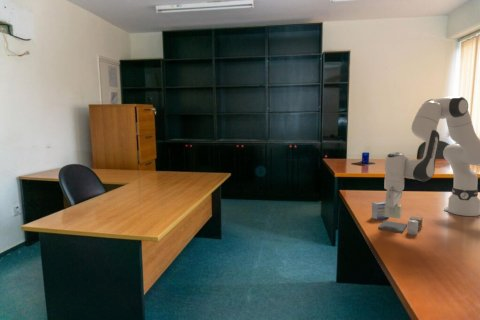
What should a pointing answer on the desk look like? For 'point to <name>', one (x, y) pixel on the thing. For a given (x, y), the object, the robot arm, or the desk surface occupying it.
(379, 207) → the medicine box
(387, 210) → the sage brick
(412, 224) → the grey plastic egg
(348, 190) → the desk surface
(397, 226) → the charcoal pad
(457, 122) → the robot arm
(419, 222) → the walnut cube
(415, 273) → the desk surface
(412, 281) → the desk surface
